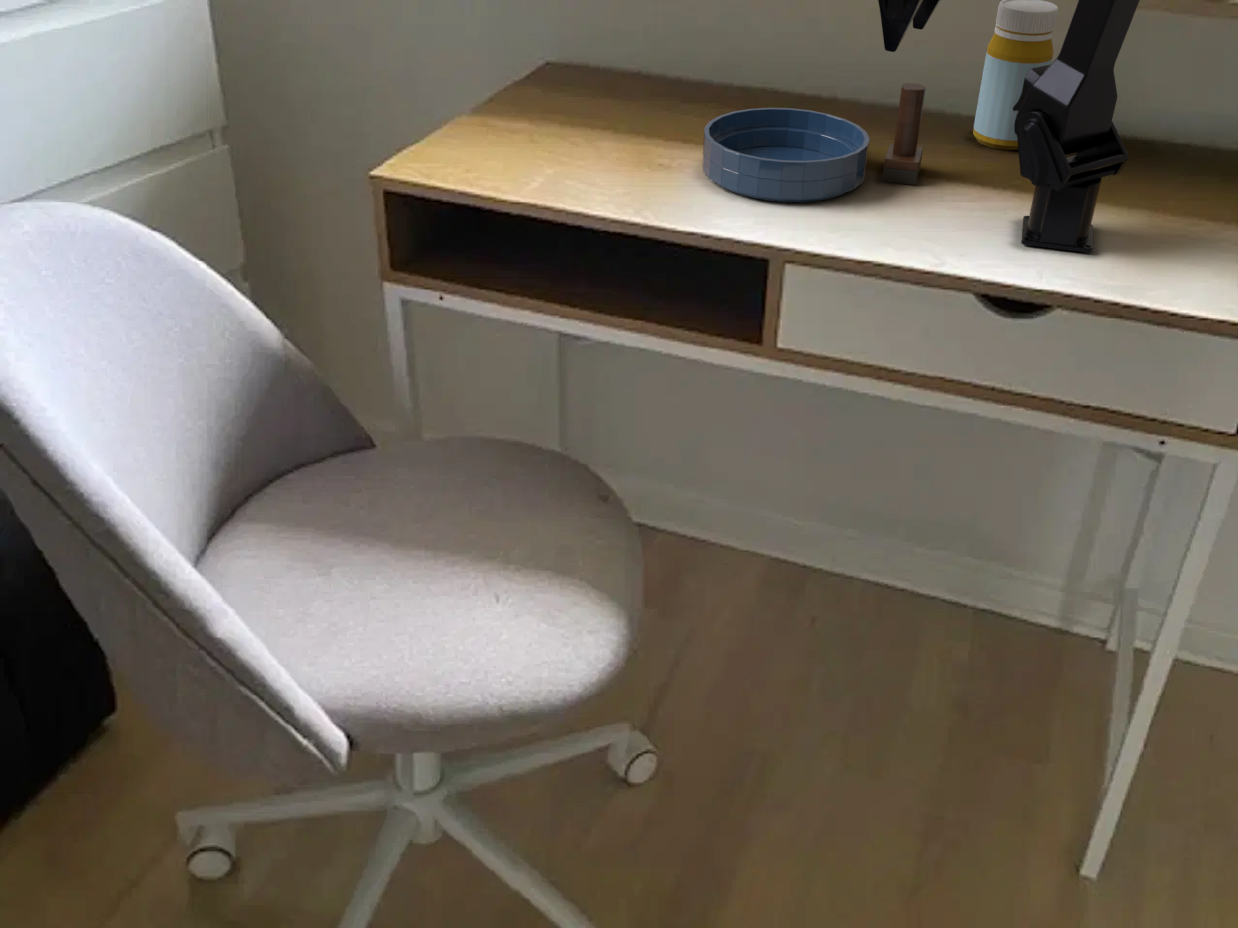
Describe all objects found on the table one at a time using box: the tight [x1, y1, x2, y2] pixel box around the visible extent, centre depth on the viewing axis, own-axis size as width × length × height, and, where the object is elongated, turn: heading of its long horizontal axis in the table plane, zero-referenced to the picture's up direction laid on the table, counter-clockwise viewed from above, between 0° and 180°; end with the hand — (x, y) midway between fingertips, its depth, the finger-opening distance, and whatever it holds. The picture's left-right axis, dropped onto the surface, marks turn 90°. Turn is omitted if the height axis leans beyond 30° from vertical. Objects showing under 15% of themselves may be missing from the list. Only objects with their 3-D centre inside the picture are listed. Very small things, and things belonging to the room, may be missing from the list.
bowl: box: [701, 107, 871, 203], centre depth 136 cm, size 17×17×4 cm
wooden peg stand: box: [881, 82, 926, 186], centre depth 135 cm, size 5×4×10 cm
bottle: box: [972, 0, 1059, 151], centre depth 144 cm, size 7×7×15 cm
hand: (904, 39), depth 134 cm, fingers open, 9 cm apart
